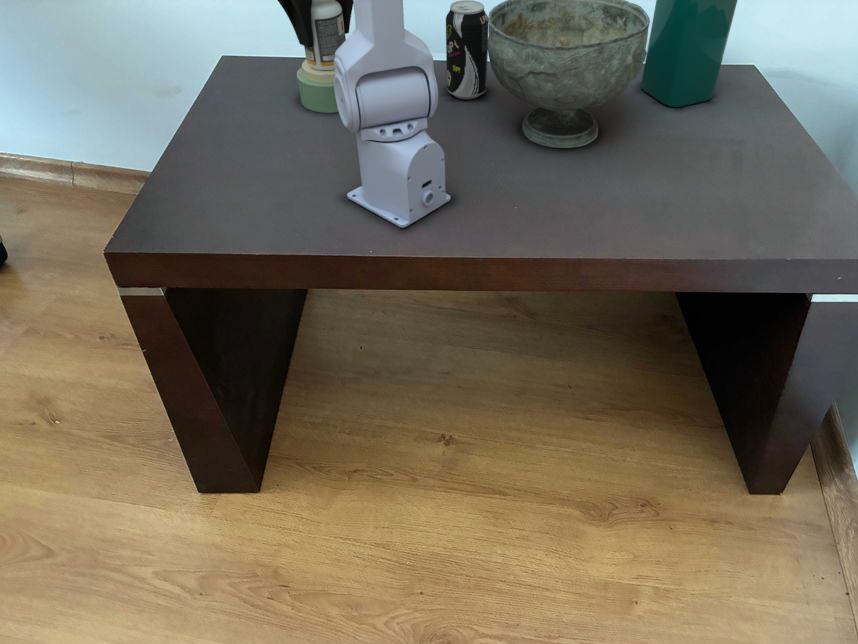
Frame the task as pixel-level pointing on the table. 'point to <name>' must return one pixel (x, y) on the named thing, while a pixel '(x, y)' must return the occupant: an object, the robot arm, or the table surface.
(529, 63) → the bowl
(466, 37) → the beverage can
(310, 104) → the squat jar
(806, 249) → the table surface
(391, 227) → the table surface
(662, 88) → the pitcher
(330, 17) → the pill bottle
